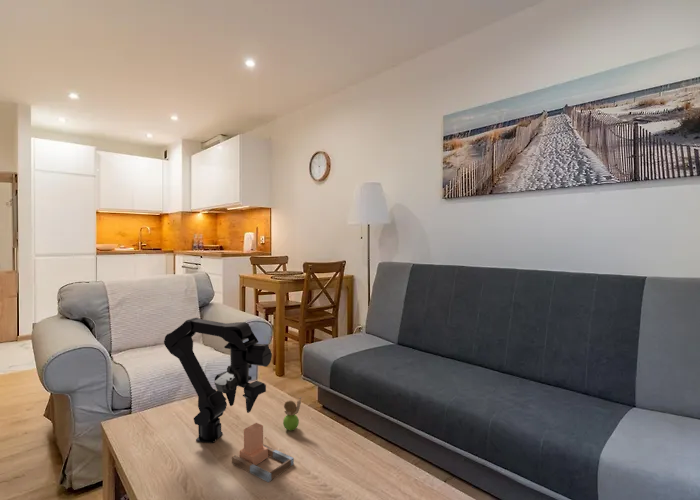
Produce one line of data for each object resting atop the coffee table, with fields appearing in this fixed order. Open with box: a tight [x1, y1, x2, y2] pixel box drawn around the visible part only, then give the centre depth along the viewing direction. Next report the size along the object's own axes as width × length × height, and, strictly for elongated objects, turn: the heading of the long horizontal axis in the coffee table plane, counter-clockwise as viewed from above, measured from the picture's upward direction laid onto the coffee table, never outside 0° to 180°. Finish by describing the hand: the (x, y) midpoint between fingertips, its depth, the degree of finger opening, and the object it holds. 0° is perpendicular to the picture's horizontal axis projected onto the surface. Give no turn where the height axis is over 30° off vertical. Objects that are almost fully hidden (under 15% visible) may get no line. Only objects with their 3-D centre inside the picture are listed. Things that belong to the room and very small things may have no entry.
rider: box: [239, 422, 269, 466], centre depth 124 cm, size 6×6×10 cm
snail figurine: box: [282, 396, 302, 431], centre depth 142 cm, size 5×6×12 cm
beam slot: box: [231, 443, 295, 483], centre depth 122 cm, size 16×10×2 cm
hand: (240, 408), depth 132 cm, fingers open, 8 cm apart
